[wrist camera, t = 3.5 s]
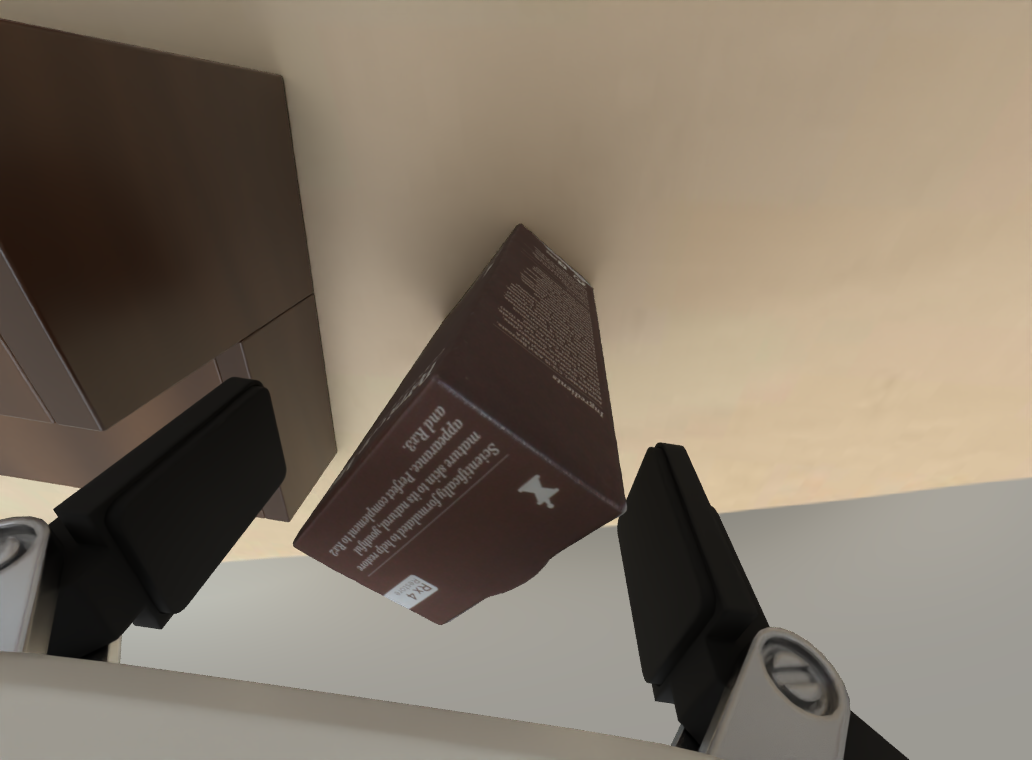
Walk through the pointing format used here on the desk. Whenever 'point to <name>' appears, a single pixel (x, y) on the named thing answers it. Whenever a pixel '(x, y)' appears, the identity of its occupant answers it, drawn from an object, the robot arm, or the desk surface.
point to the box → (482, 447)
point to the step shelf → (147, 256)
